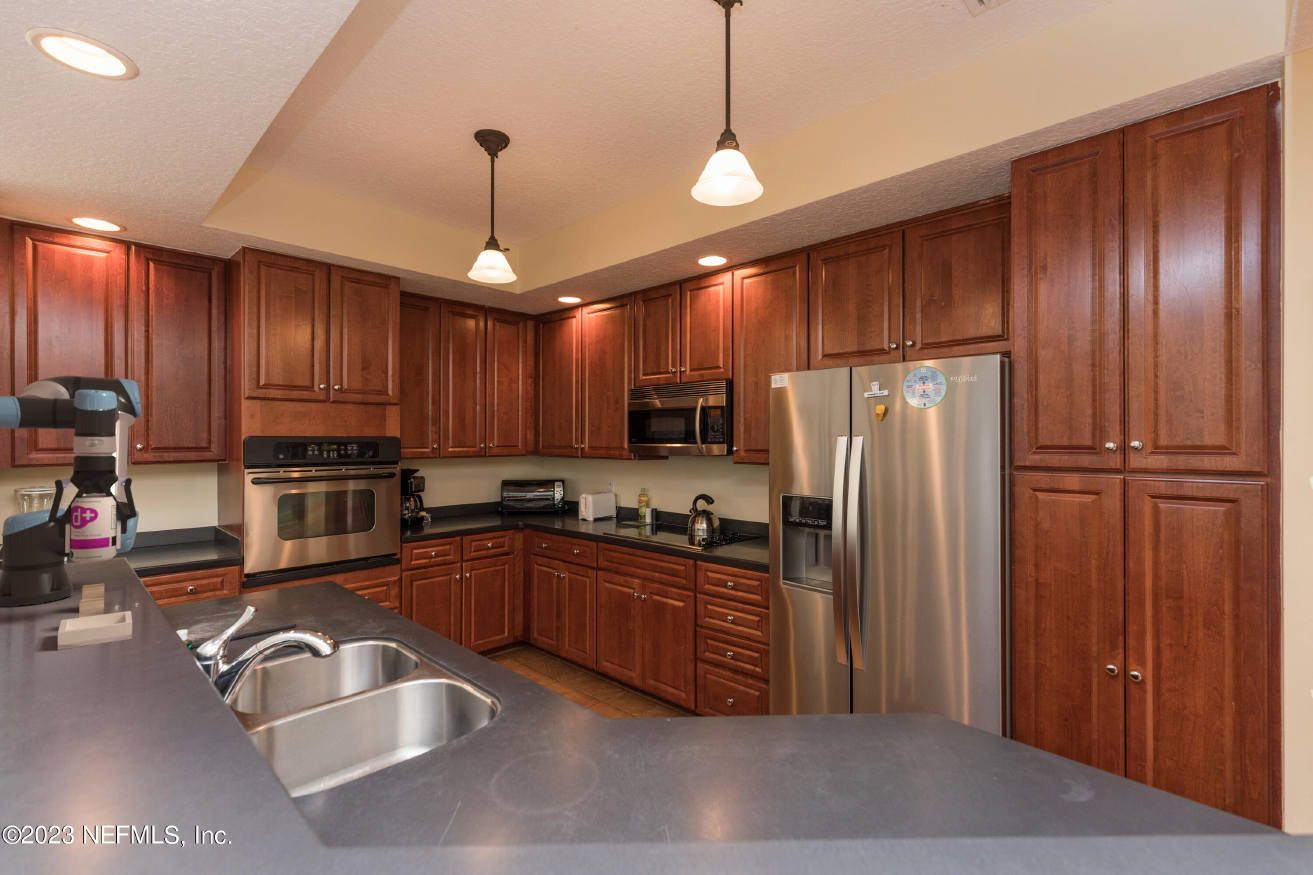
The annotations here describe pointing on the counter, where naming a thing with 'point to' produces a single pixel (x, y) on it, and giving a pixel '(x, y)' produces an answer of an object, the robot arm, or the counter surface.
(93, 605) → the birch block
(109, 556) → the supplement can
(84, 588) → the maple block
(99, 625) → the off-white tray
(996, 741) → the counter surface
